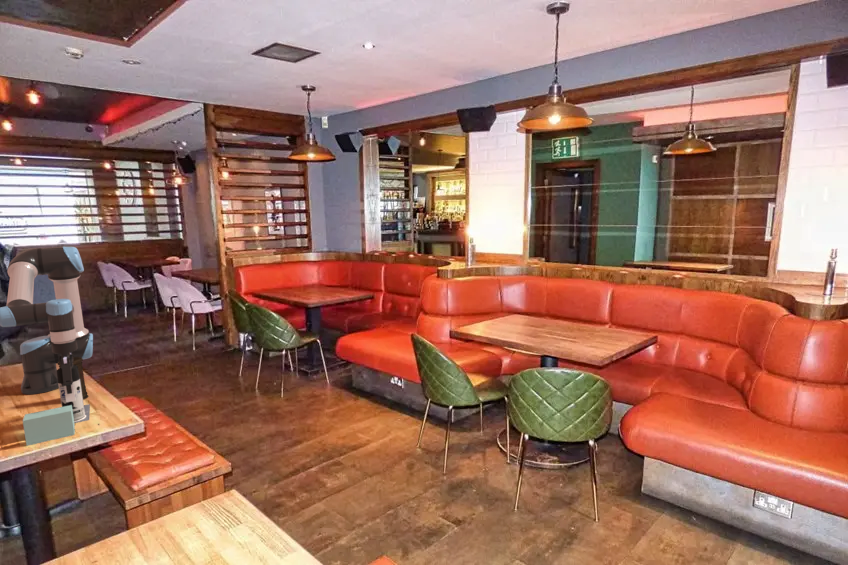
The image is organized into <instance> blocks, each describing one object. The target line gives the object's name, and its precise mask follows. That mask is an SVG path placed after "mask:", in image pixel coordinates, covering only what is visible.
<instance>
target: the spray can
mask: <svg viewBox="0 0 848 565" xmlns="http://www.w3.org/2000/svg"><path fill="white" fill-rule="evenodd" d="M71 371H72V382H73V385H74V392H75V399H76V401H71V402H66V396H65V390H64V386H61V384H63V374H62V369H61V368H59V367H58V369H57V378H58V385H59V388H58V392H59V395H60V396H59V397H60V404H61V407H64V406H69V405H72V410H73V417H74V421H76V420H79V419H82V418H84V417H85V410H84V400H83V396H82V390H81V383H80V376H79V371H78V366H76V365H73V367H72V368H71ZM66 382H67V381H66Z"/></svg>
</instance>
